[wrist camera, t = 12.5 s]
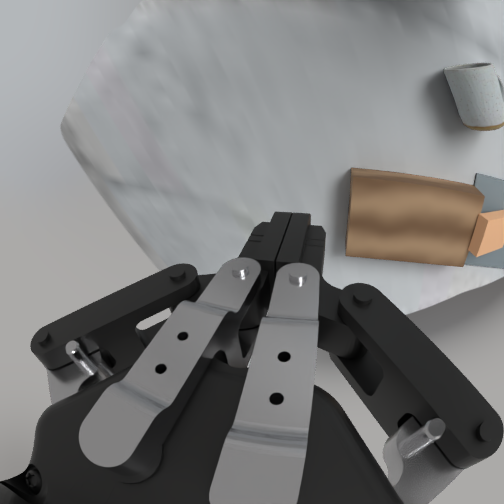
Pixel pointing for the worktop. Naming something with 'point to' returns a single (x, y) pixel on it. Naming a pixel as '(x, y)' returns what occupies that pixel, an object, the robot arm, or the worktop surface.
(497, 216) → the orange tan rectangular block
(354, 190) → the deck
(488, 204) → the mat
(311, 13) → the worktop surface
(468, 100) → the ceramic mug
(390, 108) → the worktop surface
